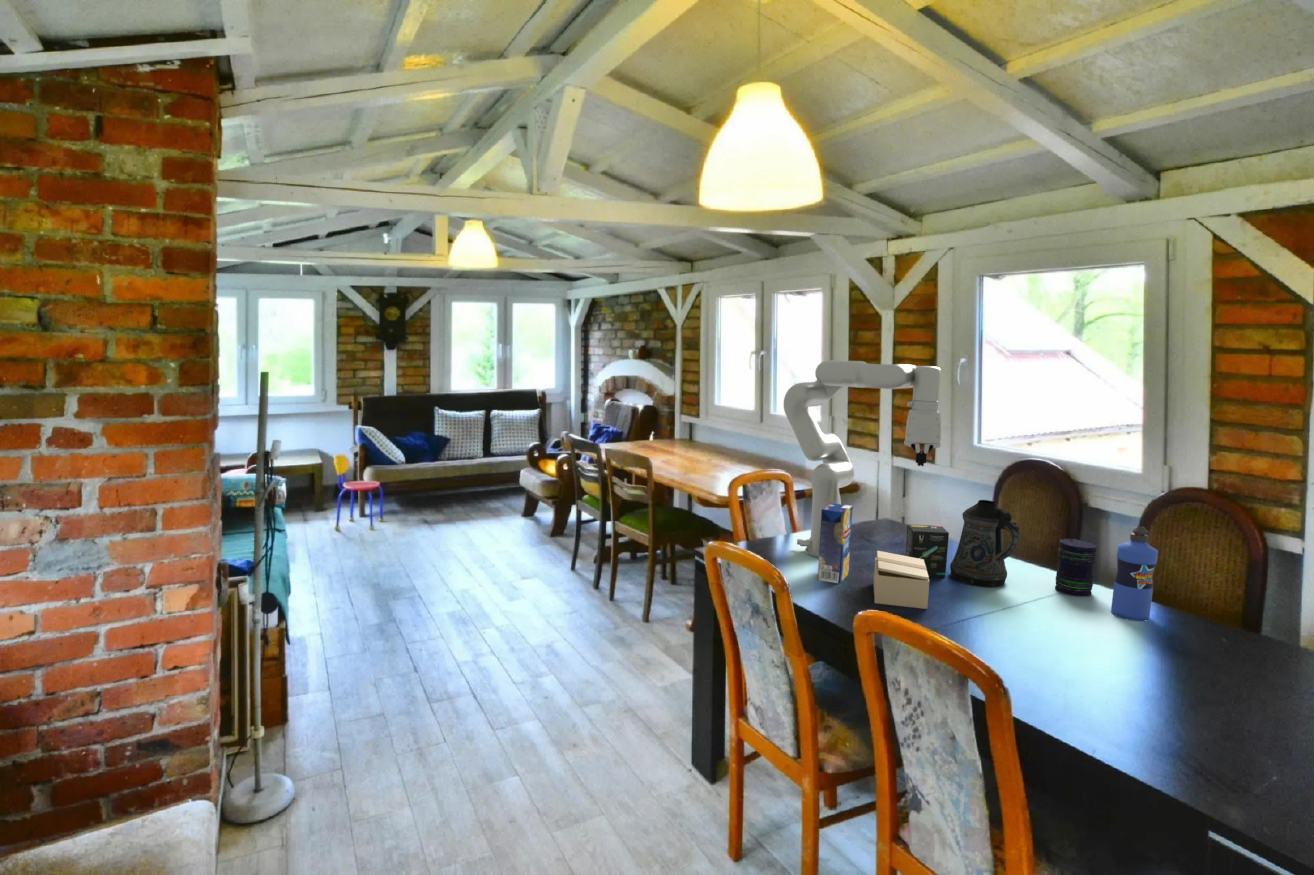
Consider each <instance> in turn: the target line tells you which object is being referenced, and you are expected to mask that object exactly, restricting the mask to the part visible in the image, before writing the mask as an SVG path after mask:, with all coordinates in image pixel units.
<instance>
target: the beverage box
mask: <svg viewBox="0 0 1314 875" xmlns="http://www.w3.org/2000/svg"><path fill="white" fill-rule="evenodd" d="M853 509H854V506H853V505H849V504H843V503H841V504H835V503H830V504H829V505H827V506H826V507H825V508H823V509H822V514H821V531H820V548H819V557H818V564H817V565H818V566H817V567H818V568H817V569H818V570H817V581H821V582H822V581H823V582H829V583H834V584H841V583H842V582H843V581H844V579H845V578H846V577H847V576H848V575H849V568H850V554H851V540H852V537H851V536H852V523H853V521H852V520H853Z"/></svg>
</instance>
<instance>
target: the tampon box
mask: <svg viewBox="0 0 1314 875" xmlns="http://www.w3.org/2000/svg"><path fill="white" fill-rule="evenodd" d="M906 528H907V529H906V541H905V543H906V544H905V556H908V557H913V558H919V559H924V562H925V566H926V569H927V573H928V576H929V578H933V577H935V578H946V572H947V564H948V563H947V561H948V559H947V558H948V549H949V538H950V532H949V531H948V530H946V529H945V527H944V526H942V525H934V524H933V525H932V524H931V525H930V524H907V527H906Z"/></svg>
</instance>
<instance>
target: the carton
mask: <svg viewBox="0 0 1314 875" xmlns="http://www.w3.org/2000/svg"><path fill="white" fill-rule="evenodd" d="M873 572H874V574H873V595H874V598H873V599H874V600H873V601H874V604H880V605H889V606H897V607H906V608H914V609H922V610H923V609H925V610H927V609H928V604H929V591H930V579H929V580H926V579H921V578H915V577H910V576H905V575H900V574H895V573H890V572H885V571H880V570H878V560H877V557H874V571H873Z"/></svg>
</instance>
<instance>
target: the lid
mask: <svg viewBox="0 0 1314 875" xmlns="http://www.w3.org/2000/svg"><path fill="white" fill-rule="evenodd" d="M876 558H877V560H878V570H880V571H885V572H890V573H895V574H900V575H905V576H910V577H915V578H921V579H926V580H929V581H930V577H929V576H928V573H927V569H926V566H925V562H924V559H919V558H913V557H908V556H906V555H901V554H897V553H891V552H887V551H883V550H882V551H881V550H877V551H876Z"/></svg>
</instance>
